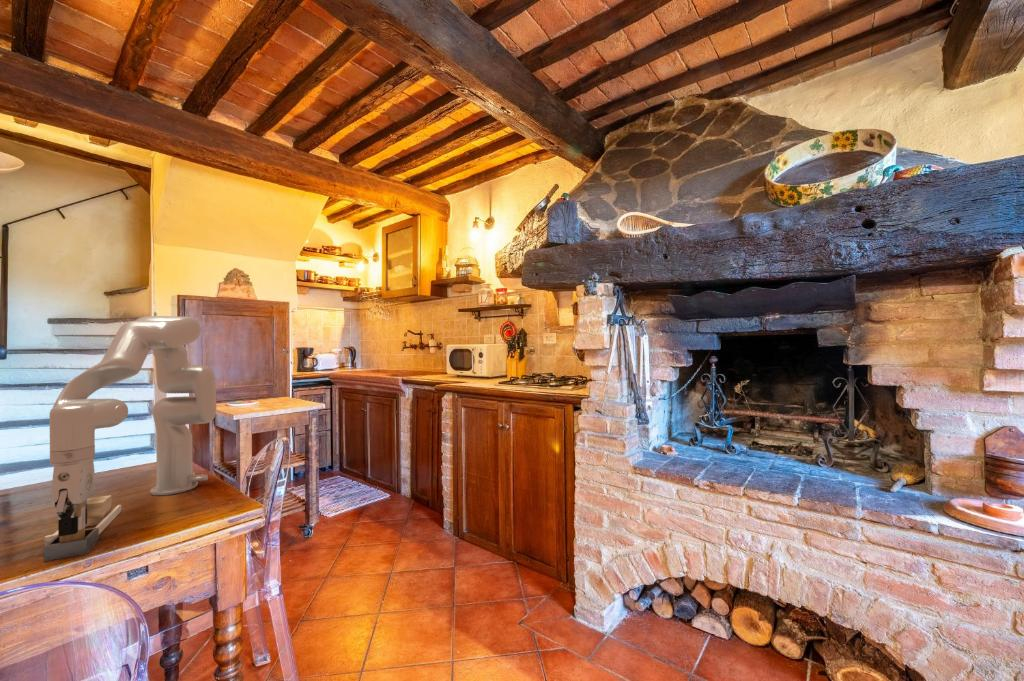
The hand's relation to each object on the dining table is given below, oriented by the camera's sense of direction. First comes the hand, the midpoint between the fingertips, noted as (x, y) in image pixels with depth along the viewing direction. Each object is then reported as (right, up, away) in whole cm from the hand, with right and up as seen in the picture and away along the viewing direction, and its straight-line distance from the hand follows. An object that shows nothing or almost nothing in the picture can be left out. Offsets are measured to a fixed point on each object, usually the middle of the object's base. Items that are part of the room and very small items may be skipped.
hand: (73, 529), depth 100 cm
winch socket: (0, -5, 0) cm, 5 cm away
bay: (-9, -5, +12) cm, 16 cm away
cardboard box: (-11, -5, +15) cm, 20 cm away
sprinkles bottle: (0, -4, 0) cm, 4 cm away
